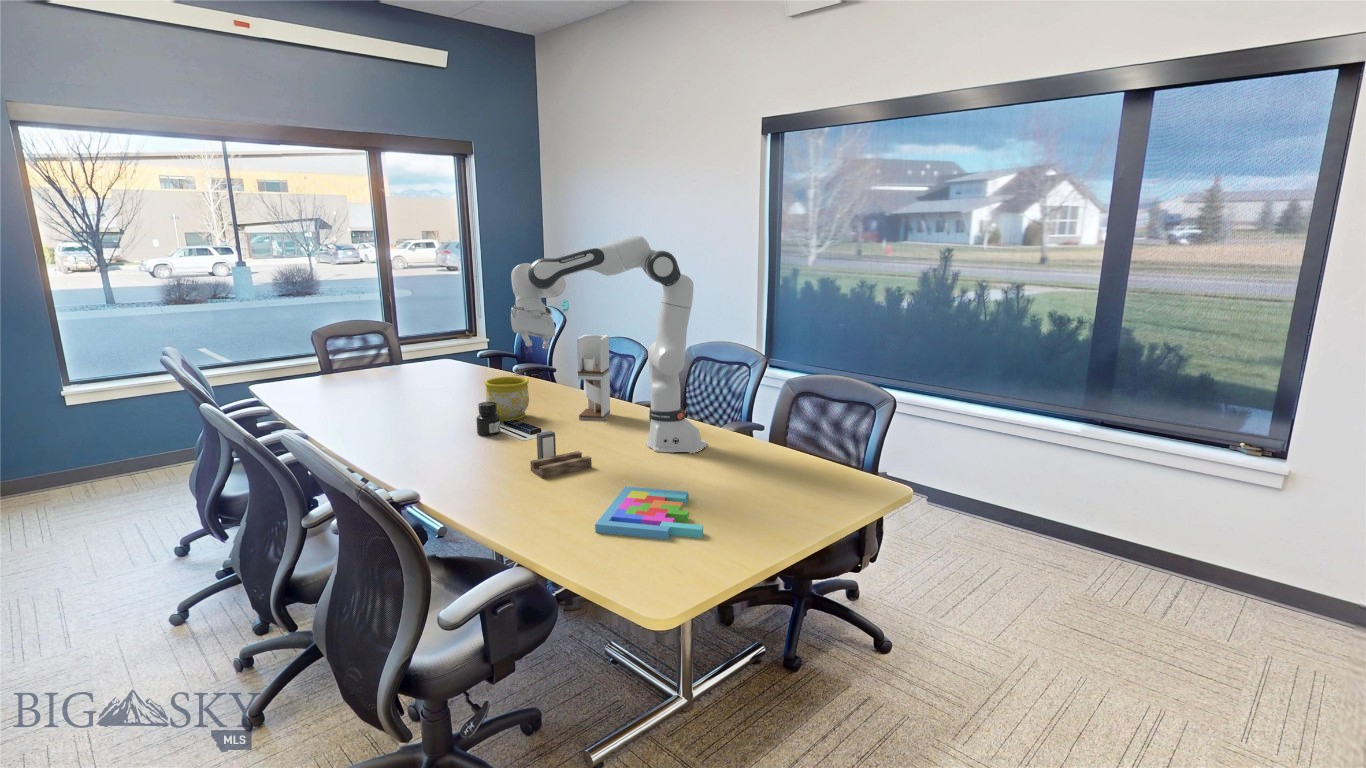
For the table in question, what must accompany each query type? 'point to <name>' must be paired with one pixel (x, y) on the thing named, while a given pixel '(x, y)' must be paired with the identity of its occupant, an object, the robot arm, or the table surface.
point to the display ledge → (560, 464)
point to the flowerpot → (508, 396)
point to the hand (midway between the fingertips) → (537, 347)
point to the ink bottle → (488, 419)
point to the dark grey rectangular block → (546, 444)
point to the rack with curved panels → (594, 375)
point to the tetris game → (648, 514)
